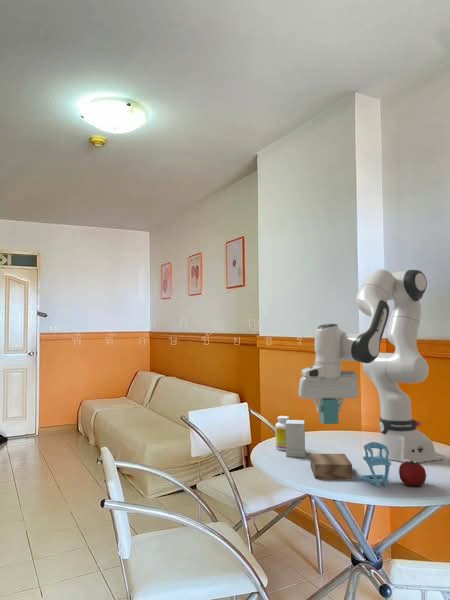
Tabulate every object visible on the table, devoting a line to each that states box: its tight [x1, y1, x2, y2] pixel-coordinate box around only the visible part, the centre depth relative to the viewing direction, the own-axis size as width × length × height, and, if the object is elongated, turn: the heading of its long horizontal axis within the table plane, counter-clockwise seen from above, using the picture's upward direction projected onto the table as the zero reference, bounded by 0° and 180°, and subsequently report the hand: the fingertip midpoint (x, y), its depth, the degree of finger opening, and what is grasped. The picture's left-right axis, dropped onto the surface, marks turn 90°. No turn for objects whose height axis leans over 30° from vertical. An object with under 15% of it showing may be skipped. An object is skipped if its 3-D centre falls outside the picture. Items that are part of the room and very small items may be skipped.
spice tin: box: [318, 398, 339, 425], centre depth 147 cm, size 5×5×8 cm
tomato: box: [398, 461, 427, 487], centre depth 134 cm, size 8×8×7 cm
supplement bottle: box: [274, 415, 290, 452], centre depth 175 cm, size 7×7×13 cm
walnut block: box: [309, 453, 353, 480], centre depth 146 cm, size 12×12×5 cm
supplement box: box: [285, 419, 306, 458], centre depth 167 cm, size 7×7×13 cm
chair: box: [360, 441, 392, 488], centre depth 137 cm, size 8×8×12 cm
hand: (328, 411), depth 147 cm, fingers closed on spice tin, 5 cm apart
